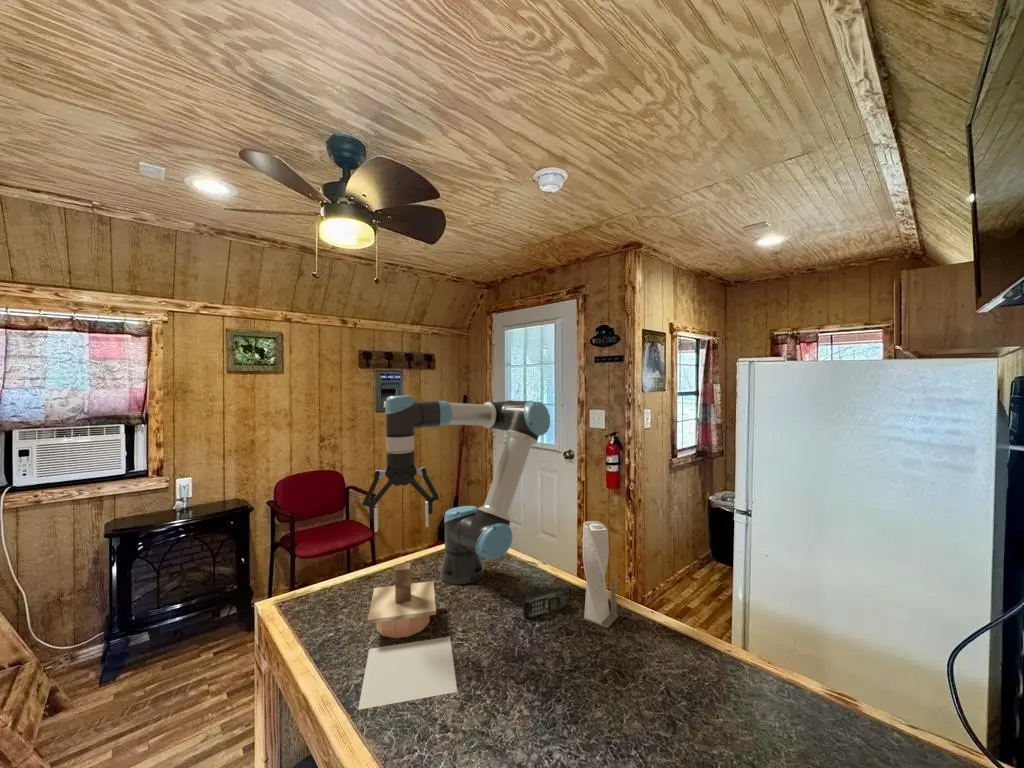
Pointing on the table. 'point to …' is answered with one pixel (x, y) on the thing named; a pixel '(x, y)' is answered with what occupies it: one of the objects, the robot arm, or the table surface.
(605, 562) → the skyscraper
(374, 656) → the mat
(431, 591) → the board
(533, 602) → the mobile phone
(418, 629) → the bowl
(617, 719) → the table surface
